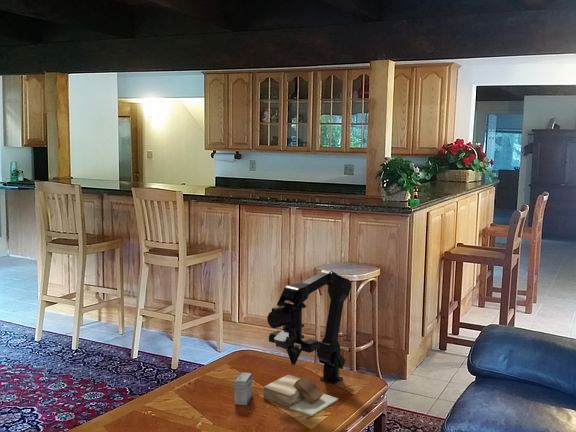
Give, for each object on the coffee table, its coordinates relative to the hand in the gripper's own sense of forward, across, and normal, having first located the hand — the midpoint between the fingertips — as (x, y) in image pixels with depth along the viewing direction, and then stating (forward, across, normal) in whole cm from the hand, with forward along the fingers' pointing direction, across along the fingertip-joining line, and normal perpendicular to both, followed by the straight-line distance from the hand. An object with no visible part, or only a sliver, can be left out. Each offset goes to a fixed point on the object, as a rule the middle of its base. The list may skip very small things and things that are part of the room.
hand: (293, 364), depth 212 cm
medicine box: (+12, -12, -13) cm, 21 cm away
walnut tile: (+9, +5, +1) cm, 10 cm away
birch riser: (+12, -2, 0) cm, 12 cm away
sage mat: (+12, +9, 0) cm, 15 cm away
